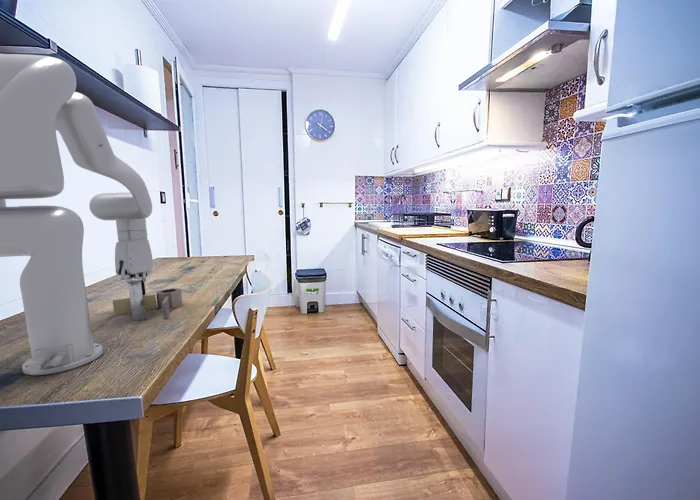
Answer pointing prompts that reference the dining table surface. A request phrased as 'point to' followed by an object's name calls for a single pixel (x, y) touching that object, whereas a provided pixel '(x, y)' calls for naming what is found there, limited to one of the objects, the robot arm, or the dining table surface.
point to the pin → (136, 298)
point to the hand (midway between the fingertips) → (139, 295)
